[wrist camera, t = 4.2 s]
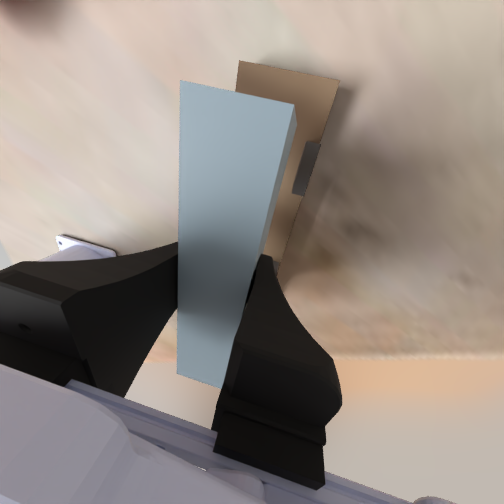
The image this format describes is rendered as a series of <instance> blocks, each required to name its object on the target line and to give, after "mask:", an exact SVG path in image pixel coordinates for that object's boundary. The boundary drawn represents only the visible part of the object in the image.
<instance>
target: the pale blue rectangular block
mask: <svg viewBox="0 0 504 504" xmlns="http://www.w3.org/2000/svg"><path fill="white" fill-rule="evenodd" d="M296 127H297V121H296V114H295V107H294V104H289V103H285V102H280V101H275V100H271V99H266V98H261V97H257V96H252V95H247V94H243V93H238V92H233V91H229V90H224V89H219V88H215V87H210V86H205V85H201V84H196V83H191V82H187V81H182V80H180V141H179V226H178V312H177V374H179V375H182V376H185V377H188V378H191V379H194V380H197V381H199V382H202V383H205V384H208V385H211V386H214V387H217V388H220V389H222V385H223V382H224V378H225V374H226V370H227V366H228V362H229V357H230V353H231V349H232V345H233V341H234V337H235V334H236V332H237V329H238V327H239V324H240V322H241V319H242V317H243V314H244V311H245V309H246V306H247V302H248V298H249V294H250V290H251V287H252V283H253V279H254V275H255V271H256V267H257V263H258V260H259V257H260V255H261V254H263V251H264V248H265V244H266V240H267V236H268V233H269V229H270V225H271V221H272V217H273V214H274V210H275V206H276V202H277V199H278V195H279V191H280V187H281V183H282V180H283V176H284V172H285V168H286V164H287V161H288V157H289V153H290V149H291V146H292V142H293V138H294V134H295V130H296Z"/></svg>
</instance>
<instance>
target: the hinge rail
mask: <svg viewBox="0 0 504 504" xmlns="http://www.w3.org/2000/svg"><path fill="white" fill-rule="evenodd" d="M339 82H340V81H339V80H334V79H329V78H324V77H319V76H314V75H309V74H304V73H300V72H295V71H290V70H285V69H280V68H275V67H270V66H265V65H260V64H255V63H250V62H245V61H240V60H239V66H238V74H237V82H236V91H235V92H238V93H243V94H247V95H252V96H257V97H261V98H266V99H271V100H275V101H280V102H285V103H289V104H294V107H295V114H296V121H297V127H296V130H295V134H294V138H293V142H292V146H291V149H290V153H289V157H288V161H287V164H286V168H285V172H284V176H283V180H282V183H281V187H280V191H279V195H278V199H277V202H276V206H275V210H274V214H273V217H272V221H271V225H270V229H269V233H268V236H267V240H266V244H265V248H264V251H263V254H265V255H268V256H272V258H273V264H274V269H275V273H276V276H277V273H278V269H279V266H280V263H281V260H282V257H283V254H284V251H285V248H286V245H287V242H288V239H289V236H290V233H291V230H292V227H293V223H294V220H295V217H296V214H297V211H298V208H299V205H300V202H301V199H302V196H304V194H305V191H306V188H307V185H308V182H309V179H310V176H311V173H312V170H313V167H314V164H315V161H316V158H317V155H318V152H319V149H320V146H321V144H320V141H321V138H322V134H323V131H324V128H325V125H326V122H327V119H328V116H329V113H330V110H331V107H332V104H333V101H334V98H335V95H336V91H337V88H338V85H339Z"/></svg>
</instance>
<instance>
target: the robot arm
mask: <svg viewBox="0 0 504 504" xmlns="http://www.w3.org/2000/svg"><path fill="white" fill-rule="evenodd" d="M56 240H57V243H58V246H59V249H60V251H59V252H57V253H55V254H52V255H50V256H48V257H46V258H44V259H41V260H39V261H23V262H19V263H17V264H15V265H12V266H10V267H8V268H5V269H3V270H0V504H456V503H453V502H450V501H447V500H444V499H441V498H437V497H429V496H427V497H421V498H419V499H417V500H415V501H414V503H411V502H408V501H406V500H403V499H400V498H397V497H395V496H392V495H389V494H386V493H384V492H381V491H378V490H375V489H373V488H370V487H367V486H364V485H362V484H359V483H356V482H353V481H350V480H348V479H345V478H342V477H340V476H337V475H334V474H331V473H329V472H326V471H324V459H323V446H324V445H325V444H326V433H325V426H326V424H327V423H328V422H329V421H330V420H331V419H332V418H333V417H334V416H335V415H336V413H337V412H338V411H339V410H340V408H341V406H342V394H341V388H340V383H339V379H338V375H337V371H336V368H335V365H334V361H333V359H332V358H331V357H330V356H329V354H328V353H327V352H326V351H325V350H324V349H323V348H322V347H321V346H320V345H319V344H318V343H317V342H316V341H315V340H314V339H313V338H312V336H311V335H310V334H309V333H308V331H307V330H306V329H305V328H304V327H303V325H302V324H301V323H300V321H299V320H298V318H297V317H296V315H295V314H294V313H293V311H292V309H291V308H290V306H289V304H288V302H287V300H286V298H285V296H284V294H283V292H282V290H281V287H280V285H279V282H278V279H277V276H276V273H275V269H274V264H273V258H272V256H268V255H265V254H261V255H260V257H259V260H258V263H257V267H256V271H255V275H254V279H253V283H252V287H251V290H250V294H249V298H248V302H247V306H246V309H245V311H244V314H243V317H242V319H241V322H240V324H239V327H238V329H237V332H236V334H235V337H234V341H233V345H232V349H231V353H230V357H229V362H228V366H227V370H226V374H225V378H224V382H223V385H222V389H221V392H220V395H219V398H218V401H217V404H216V410H215V415H214V419H213V423H212V428H211V430H210V429H208V428H205V427H202V426H199V425H197V424H194V423H191V422H188V421H186V420H183V419H180V418H177V417H175V416H172V415H169V414H166V413H164V412H161V411H158V410H155V409H153V408H150V407H147V406H144V405H142V404H139V403H136V402H133V401H131V400H128V399H125V398H124V397H125V395H126V393H127V392H128V390H129V388H130V386H131V384H132V382H133V380H134V378H135V376H136V375H137V373H138V371H139V369H140V367H141V366H142V364H143V362H144V360H145V358H146V357H147V355H148V353H149V351H150V350H151V348H152V346H153V345H154V343H155V341H156V340H157V338H158V336H159V335H160V333H161V331H162V330H163V328H164V326H165V325H166V323H167V322H168V320H169V318H170V317H171V316H172V314H173V313H174V311H175V310H176V309H177V308H178V242H175V243H172V244H169V245H166V246H162V247H159V248H155V249H152V250H148V251H144V252H139V253H134V254H129V255H124V256H116V253H115V252H114V251H113V250H110V249H107V248H103V247H100V246H96V245H93V244H90V243H86V242H83V241H80V240H76V239H73V238H70V237H66V236H63V235H58V236H56ZM194 465H195V466H194ZM196 466H197V467H196ZM198 467H200V468H203V469H205V470H206V471H204V470H202V469H200V468H198Z"/></svg>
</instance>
